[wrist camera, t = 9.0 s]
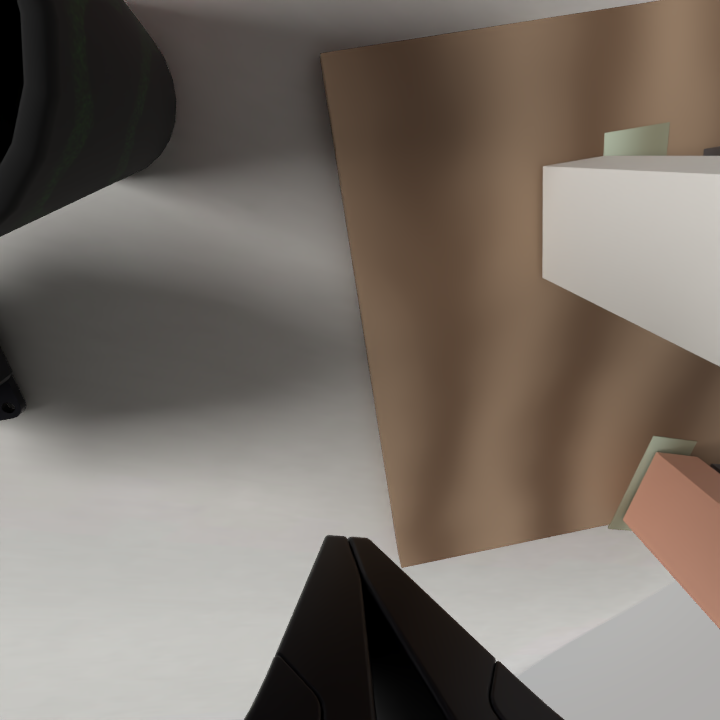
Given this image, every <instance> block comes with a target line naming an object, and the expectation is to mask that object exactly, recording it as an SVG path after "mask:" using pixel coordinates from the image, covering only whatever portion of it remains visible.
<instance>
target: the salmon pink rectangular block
mask: <svg viewBox="0 0 720 720" xmlns="http://www.w3.org/2000/svg"><path fill="white" fill-rule="evenodd" d="M623 521H624V522H625V523H626V524H627V525H628V526H629V528H630V529H631V530H632V531H633V532H634V533H635V534H636V535H637V537H638V538H639V539H640V540H641V541H642V542H643V543H644V544H645V546H646V547H647V548H648V549H649V550H650V551H651V552H652V553H653V555H654V556H655V557H656V558H657V559H658V560H659V561H660V562H661V564H662V565H663V566H664V567H665V568H666V569H667V570H668V571H669V573H670V574H671V575H672V576H673V577H674V578H675V579H676V580H677V582H678V583H679V584H680V585H681V586H682V587H683V588H684V589H685V590H686V592H687V593H688V594H689V595H690V596H691V597H692V598H693V600H694V601H695V602H696V603H697V604H698V605H699V606H700V607H701V609H702V610H703V611H704V612H705V613H706V614H707V615H708V616H709V618H710V619H711V620H712V621H713V622H714V623H715V624H716V625H717V626H718V628H719V629H720V474H719V473H718V472H717V471H715V470H714V469H713V468H711V467H710V466H709V465H708V464H706V463H705V462H704V461H702V460H701V459H700V458H698V457H694V456H686V455H677V454H669V453H660V452H656V454H655V456H654V458H653V460H652V462H651V464H650V466H649V468H648V470H647V472H646V474H645V476H644V478H643V480H642V482H641V484H640V486H639V488H638V490H637V492H636V494H635V496H634V498H633V500H632V502H631V504H630V506H629V508H628V510H627V512H626V514H625V516H624V518H623Z"/></svg>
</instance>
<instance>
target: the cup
mask: <svg viewBox="0 0 720 720" xmlns="http://www.w3.org/2000/svg"><path fill="white" fill-rule="evenodd" d="M175 115H176V97H175V91H174V85H173V79H172V77H171V74H170V72H169V69H168V67H167V64H166V62H165V59H164V57H163V55H162V54H161V52H160V51H159V49H158V48H157V46H156V45H155V43H154V42H153V40H152V38H151V37H150V36H149V34H148V33H147V32H146V30H145V29H144V28H143V26H142V25H141V24H140V22H139V21H138V20H137V18H136V17H135V16H134V14H133V13H132V12H131V10H130V9H129V8H128V6H127V5H126V4H125V2H124V1H123V0H0V237H1V236H3V235H5V234H7V233H9V232H11V231H13V230H15V229H18V228H20V227H22V226H24V225H26V224H28V223H30V222H32V221H34V220H37V219H39V218H41V217H43V216H45V215H47V214H49V213H51V212H53V211H56V210H58V209H60V208H62V207H64V206H66V205H68V204H70V203H73V202H75V201H77V200H79V199H81V198H83V197H85V196H87V195H89V194H92V193H94V192H96V191H98V190H100V189H102V188H104V187H106V186H108V185H111V184H113V183H115V182H117V181H119V180H121V179H123V178H125V177H128V176H130V175H132V174H134V173H136V172H138V171H140V170H142V169H144V168H146V167H148V166H149V165H150V164H151V163H152V162H153V161H154V160H155V159H156V158H158V157H159V156H160V154H161V153H162V151H163V150H164V148H165V146H166V145H167V143H168V142H169V140H170V137H171V134H172V130H173V127H174V124H175Z"/></svg>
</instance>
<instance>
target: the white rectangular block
mask: <svg viewBox="0 0 720 720" xmlns="http://www.w3.org/2000/svg"><path fill="white" fill-rule="evenodd" d="M542 278H544V279H546V280H548V281H550V282H552V283H554V284H556V285H558V286H560V287H562V288H564V289H566V290H568V291H570V292H572V293H574V294H576V295H578V296H580V297H582V298H584V299H586V300H588V301H590V302H592V303H594V304H596V305H598V306H600V307H602V308H604V309H606V310H608V311H610V312H612V313H614V314H616V315H618V316H620V317H622V318H624V319H626V320H628V321H630V322H632V323H634V324H636V325H638V326H640V327H642V328H644V329H646V330H648V331H650V332H652V333H654V334H656V335H658V336H660V337H662V338H664V339H666V340H668V341H670V342H672V343H674V344H676V345H678V346H680V347H682V348H684V349H686V350H688V351H690V352H692V353H694V354H696V355H698V356H700V357H702V358H704V359H706V360H708V361H710V362H712V363H714V364H716V365H718V366H720V156H600V157H594V158H588V159H583V160H577V161H571V162H565V163H559V164H553V165H547V166H543V255H542Z"/></svg>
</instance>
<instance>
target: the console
mask: <svg viewBox="0 0 720 720" xmlns="http://www.w3.org/2000/svg"><path fill="white" fill-rule="evenodd" d="M320 61H321V67H322V74H323V80H324V86H325V93H326V99H327V105H328V112H329V118H330V124H331V131H332V137H333V143H334V150H335V156H336V162H337V169H338V175H339V181H340V188H341V194H342V200H343V207H344V213H345V219H346V226H347V232H348V238H349V245H350V251H351V257H352V264H353V270H354V276H355V283H356V289H357V295H358V302H359V308H360V314H361V321H362V327H363V333H364V340H365V346H366V352H367V359H368V365H369V371H370V378H371V384H372V390H373V397H374V403H375V409H376V415H377V422H378V428H379V434H380V441H381V447H382V453H383V460H384V466H385V472H386V479H387V485H388V491H389V498H390V504H391V510H392V517H393V523H394V529H395V536H396V542H397V548H398V555H399V559H400V563H401V567H402V568H403V567H408V566H413V565H418V564H422V563H427V562H432V561H437V560H441V559H446V558H451V557H456V556H461V555H465V554H470V553H475V552H480V551H484V550H489V549H494V548H499V547H504V546H508V545H513V544H518V543H523V542H528V541H532V540H537V539H542V538H547V537H551V536H556V535H561V534H566V533H571V532H575V531H580V530H585V529H590V528H594V527H599V526H604V525H609V526H608V529H617V530H629V531H632V530H631V529H630V528H629V526H628V525H627V524H626V523H625V522H624V521H623V518H624V516H625V514H626V512H627V510H628V508H629V506H630V504H631V502H632V500H633V498H634V496H635V494H636V492H637V490H638V488H639V486H640V484H641V482H642V480H643V478H644V476H645V474H646V472H647V470H648V468H649V466H650V464H651V462H652V460H653V458H654V456H655V454H656V452H660V453H669V454H677V455H686V456H694V457H698V458H700V459H701V460H702V461H704V462H705V463H706V464H708V465H709V466H710V467H711V468H713V469H714V470H715V471H717V472H718V473H719V474H720V366H718V365H716V364H714V363H712V362H710V361H708V360H706V359H704V358H702V357H700V356H698V355H696V354H694V353H692V352H690V351H688V350H686V349H684V348H682V347H680V346H678V345H676V344H674V343H672V342H670V341H668V340H666V339H664V338H662V337H660V336H658V335H656V334H654V333H652V332H650V331H648V330H646V329H644V328H642V327H640V326H638V325H636V324H634V323H632V322H630V321H628V320H626V319H624V318H622V317H620V316H618V315H616V314H614V313H612V312H610V311H608V310H606V309H604V308H602V307H600V306H598V305H596V304H594V303H592V302H590V301H588V300H586V299H584V298H582V297H580V296H578V295H576V294H574V293H572V292H570V291H568V290H566V289H564V288H562V287H560V286H558V285H556V284H554V283H552V282H550V281H548V280H546V279H544V278H542V255H543V166H547V165H553V164H559V163H565V162H571V161H577V160H583V159H588V158H594V157H600V156H720V0H660V1H654V2H647V3H641V4H635V5H628V6H622V7H615V8H609V9H602V10H596V11H589V12H583V13H577V14H570V15H564V16H557V17H551V18H544V19H538V20H531V21H525V22H519V23H512V24H506V25H499V26H493V27H486V28H480V29H473V30H467V31H461V32H454V33H448V34H441V35H435V36H428V37H422V38H415V39H409V40H403V41H396V42H390V43H383V44H377V45H370V46H364V47H358V48H351V49H345V50H338V51H332V52H325V53H321V55H320Z"/></svg>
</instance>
